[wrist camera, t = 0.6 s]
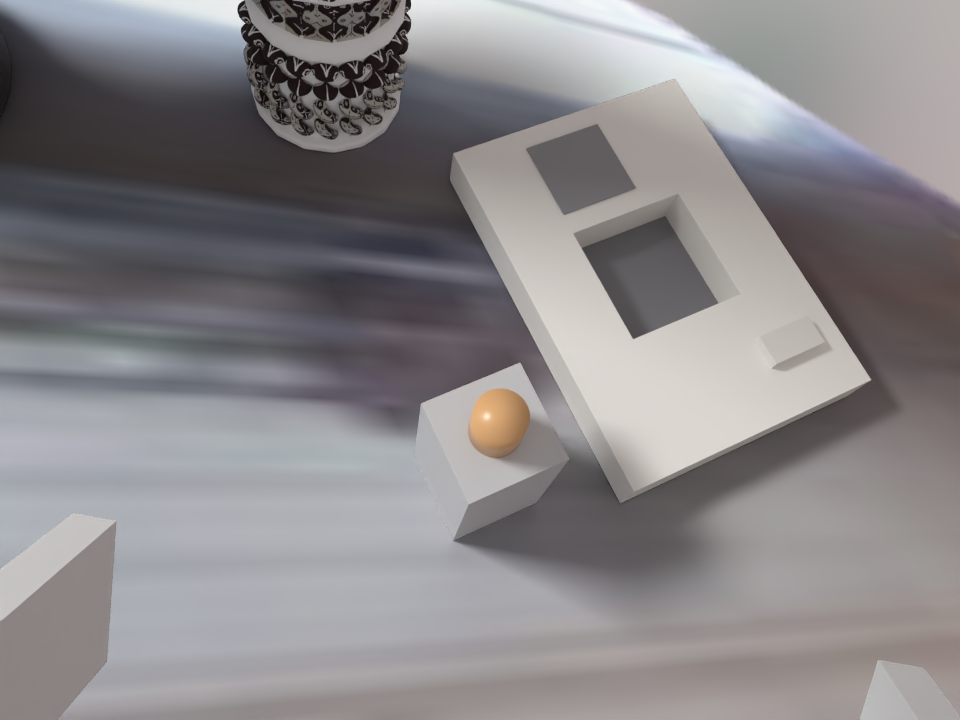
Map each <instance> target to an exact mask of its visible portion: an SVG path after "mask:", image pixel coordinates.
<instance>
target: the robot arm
mask: <svg viewBox="0 0 960 720" xmlns="http://www.w3.org/2000/svg"><path fill="white" fill-rule="evenodd" d="M10 85H11V60H10V55H9V51H8V48H7V45H6V42H5V40H4V37H3V36H2V34H1V32H0V115H1V113H2V111H3V109H4V107H5V104H6V101H7V98H8V95H9V90H10ZM115 534H116V521H114V520H108V519H103V518H97V517H92V516H86V515H81V514H75V513H72V514H71V515H70V516H69V517H67V518H66V519H65V520H63V521H62V522H61V523H59V524H58V525H57V526H56V527H54V528H53V529H52V530H50V531H49V532H48V533H46V534H45V535H44V536H43V537H41V538H40V539H39V540H37V541H36V542H35V543H33V544H32V545H31V546H30V547H28V548H27V549H26V550H24V551H23V552H22V553H20V554H19V555H18V556H17V557H15V558H14V559H13V560H11V561H10V562H9V563H7V564H6V565H5V566H4V567H2V568H1V569H0V720H57V719H58V718H59V717H60V716H61V715H62V714H63V712H64V711H65V710H66V709H67V708H68V707H69V705H70V704H71V703H72V702H73V701H74V700H75V698H76V697H77V696H78V695H79V694H80V693H81V691H82V690H83V689H84V688H85V687H86V685H87V684H88V683H89V682H90V681H91V680H92V678H93V677H94V676H95V675H96V674H97V673H98V671H99V670H100V669H101V668H102V667H103V666H104V664H105V663H106V662H107V653H108V638H109V623H110V608H111V594H112V579H113V564H114V549H115ZM860 720H960V715H959V714H958V713H957V711H956V710H955V709H954V707H953V706H952V705H951V703H950V702H949V701H948V700H947V698H946V697H945V696H944V694H943V693H942V692H941V690H940V689H939V688H938V686H937V685H936V684H935V682H934V681H933V680H932V678H931V677H930V676H929V674H928V673H927V672H926V670H925V669H924V668H921V667H915V666H910V665H904V664H899V663H893V662H888V661H882V660H878V663H877V666H876V669H875V672H874V675H873V679H872V682H871V685H870V688H869V692H868V695H867V698H866V701H865V705H864V708H863V711H862V714H861V717H860Z"/></svg>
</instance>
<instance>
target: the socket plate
mask: <svg viewBox="0 0 960 720" xmlns="http://www.w3.org/2000/svg"><path fill="white" fill-rule="evenodd" d="M450 181H451V183H452V185H453V187H454V189H455V191H456V193H457V195H458V197H459V198H460V200H461V202H462V204H463V206H464V208H465V210H466V212H467V214H468V216H469V217H470V219H471V221H472V223H473V225H474V227H475V229H476V231H477V233H478V234H479V236H480V238H481V240H482V242H483V244H484V246H485V248H486V250H487V252H488V253H489V255H490V257H491V259H492V261H493V263H494V265H495V267H496V269H497V271H498V272H499V274H500V276H501V278H502V280H503V282H504V284H505V286H506V288H507V290H508V291H509V293H510V295H511V297H512V299H513V301H514V303H515V305H516V307H517V308H518V310H519V312H520V314H521V316H522V318H523V320H524V322H525V324H526V326H527V327H528V329H529V331H530V333H531V335H532V337H533V339H534V341H535V343H536V345H537V346H538V348H539V350H540V352H541V354H542V356H543V358H544V360H545V362H546V364H547V365H548V367H549V369H550V371H551V373H552V375H553V377H554V379H555V381H556V382H557V384H558V386H559V388H560V390H561V392H562V394H563V396H564V398H565V400H566V401H567V403H568V405H569V407H570V409H571V411H572V413H573V415H574V417H575V419H576V420H577V422H578V424H579V426H580V428H581V430H582V432H583V434H584V436H585V438H586V439H587V441H588V443H589V445H590V447H591V449H592V451H593V453H594V455H595V456H596V458H597V460H598V462H599V464H600V466H601V468H602V470H603V472H604V474H605V475H606V477H607V479H608V481H609V483H610V485H611V487H612V489H613V491H614V493H615V494H616V496H617V498H618V500H619V502H620V503H622V502H624V501H627V500H629V499H631V498H633V497H635V496H637V495H639V494H641V493H644V492H646V491H648V490H650V489H652V488H654V487H656V486H658V485H660V484H663V483H665V482H667V481H669V480H671V479H673V478H675V477H677V476H679V475H682V474H684V473H686V472H688V471H690V470H692V469H694V468H696V467H698V466H701V465H703V464H705V463H707V462H709V461H711V460H713V459H715V458H718V457H720V456H722V455H724V454H726V453H728V452H730V451H732V450H734V449H737V448H739V447H741V446H743V445H745V444H747V443H749V442H751V441H753V440H756V439H758V438H760V437H762V436H764V435H766V434H768V433H770V432H772V431H775V430H777V429H779V428H781V427H783V426H785V425H787V424H789V423H791V422H794V421H796V420H798V419H800V418H802V417H804V416H806V415H808V414H811V413H813V412H815V411H817V410H819V409H821V408H823V407H825V406H827V405H830V404H832V403H834V402H836V401H838V400H840V399H842V398H844V397H846V396H848V395H850V394H851V393H853V392H854V391H855V390H857V389H858V388H860V387H861V386H863V385H864V384H866V383H867V382H869V381H870V380H871V379H870V377H869V376H868V374H867V373H866V371H865V369H864V368H863V366H862V365H861V363H860V362H859V360H858V359H857V357H856V356H855V354H854V353H853V351H852V350H851V348H850V346H849V345H848V343H847V342H846V340H845V339H844V337H843V336H842V334H841V333H840V331H839V330H838V328H837V327H836V325H835V323H834V322H833V320H832V319H831V317H830V316H829V314H828V313H827V311H826V310H825V308H824V307H823V305H822V303H821V302H820V300H819V299H818V297H817V296H816V294H815V293H814V291H813V290H812V288H811V287H810V285H809V284H808V282H807V280H806V279H805V277H804V276H803V274H802V273H801V271H800V270H799V268H798V267H797V265H796V264H795V262H794V261H793V259H792V257H791V256H790V254H789V253H788V251H787V250H786V248H785V247H784V245H783V244H782V242H781V241H780V239H779V238H778V236H777V234H776V233H775V231H774V230H773V228H772V227H771V225H770V224H769V222H768V221H767V219H766V218H765V216H764V215H763V213H762V211H761V210H760V208H759V207H758V205H757V204H756V202H755V201H754V199H753V198H752V196H751V195H750V193H749V192H748V190H747V188H746V187H745V185H744V184H743V182H742V181H741V179H740V178H739V176H738V175H737V173H736V172H735V170H734V169H733V167H732V165H731V164H730V162H729V161H728V159H727V158H726V156H725V155H724V153H723V152H722V150H721V149H720V147H719V146H718V144H717V142H716V141H715V139H714V138H713V136H712V135H711V133H710V132H709V130H708V129H707V127H706V126H705V124H704V123H703V121H702V119H701V118H700V116H699V115H698V113H697V112H696V110H695V109H694V107H693V106H692V104H691V103H690V101H689V100H688V98H687V96H686V95H685V93H684V92H683V90H682V89H681V87H680V86H679V84H678V83H677V81H676V80H675V79H672V80H669V81H666V82H663V83H660V84H657V85H654V86H651V87H648V88H645V89H642V90H640V91H637V92H634V93H631V94H628V95H625V96H622V97H619V98H616V99H613V100H610V101H607V102H604V103H601V104H598V105H595V106H592V107H589V108H586V109H583V110H580V111H577V112H574V113H571V114H568V115H565V116H562V117H559V118H557V119H554V120H551V121H548V122H545V123H542V124H539V125H536V126H533V127H530V128H527V129H524V130H521V131H518V132H515V133H512V134H509V135H506V136H503V137H500V138H497V139H494V140H491V141H488V142H485V143H482V144H479V145H476V146H473V147H471V148H468V149H465V150H462V151H459V152H456V153H453V158H452V166H451V174H450Z"/></svg>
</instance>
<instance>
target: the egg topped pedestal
mask: <svg viewBox="0 0 960 720" xmlns="http://www.w3.org/2000/svg"><path fill="white" fill-rule="evenodd" d="M414 457H415V459H416V462H417V464H418V466H419V468H420V470H421V473H422V475H423V477H424V479H425V481H426V484H427V486H428V488H429V490H430V492H431V494H432V497H433V499H434V501H435V503H436V505H437V508H438V510H439V512H440V514H441V516H442V519H443V521H444V523H445V525H446V527H447V529H448V532H449V534H450V536H451V538H452V540H453V541H454V540H456V539H458V538H461V537H463V536H465V535H467V534H469V533H471V532H474V531H476V530H478V529H480V528H482V527H484V526H487V525H489V524H491V523H493V522H495V521H498V520H500V519H502V518H504V517H506V516H508V515H511V514H513V513H515V512H517V511H519V510H521V509H524V508H526V507H528V506H530V505H532V504H534V503H537V501H538V500H539V499H540V497H541V496H542V495H543V493H544V492H545V491H546V490H547V488H548V487H549V486H550V484H551V483H552V482H553V480H554V479H555V478H556V476H557V475H558V474H559V472H560V471H561V470H562V468H563V467H564V466H565V464H566V463H567V462H568V461H569V459H570V458H569V456H568V454H567V453H566V451H565V449H564V447H563V445H562V443H561V441H560V439H559V437H558V435H557V433H556V431H555V429H554V427H553V425H552V424H551V422H550V420H549V418H548V416H547V414H546V412H545V410H544V408H543V406H542V404H541V402H540V400H539V398H538V396H537V394H536V393H535V391H534V389H533V387H532V385H531V383H530V381H529V379H528V377H527V375H526V373H525V371H524V369H523V367H522V365H521V363H518V364H516V365H513V366H511V367H509V368H506V369H504V370H501V371H499V372H496V373H494V374H492V375H489V376H487V377H484V378H482V379H479V380H477V381H475V382H472V383H470V384H467V385H465V386H462V387H460V388H458V389H455V390H453V391H450V392H448V393H445V394H443V395H441V396H438V397H436V398H433V399H431V400H428V401H426V402H424V403H421V408H420V416H419V424H418V431H417V439H416V447H415V454H414Z"/></svg>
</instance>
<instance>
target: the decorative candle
mask: <svg viewBox="0 0 960 720" xmlns="http://www.w3.org/2000/svg"><path fill="white" fill-rule="evenodd" d="M410 8H411V0H244V1H242V2H241V3H240V4H239V5H238V14H239V17H240V18H241V19H242V21H243V22H245V23H246V24H244V25H243V27H242V28H241V34H242V37H243V38H244V40H245V41H246V42H247V43H248V44H247V45H246V47H245V49H244V58H245V61H246V63H247V65H248V68H247V76H248V79H249V81H250V83H251V90H252V93H253V97H254V100H255V103H256V106H257V110H258V113H259V115H260V116H261V117H262V118H263V119H264V121H265V122H266V123H267V124H268V125H269V126H270V127H271V129H272V130H273V131H274V132H275V133H276V134H277V135H278V136H280V137H282V138H284V139H286V140H288V141H290V142H291V143H293V144H295V145H297V146H299V147H301V148H303V149H308V150H316V151H323V152H330V153H336V152H341V151H346V150H350V149H355V148H360V147H363V146H365V145H366V144H368V143H369V142H371V141H372V140H374V139H375V138H377V137H378V136H380V135H381V134H383V133H384V132H385V131H386V130H387V128H388V127H389V125H390V124H391V122H392V120H393V119H394V117H395V116H396V114H397V113H398V111H399V103H400V93H401V90H402V89H403V87H404V81H403V80H402V79H401V78H399V75H398V73H399V74H402V73H404V72H405V71H406V68H407V67H406V63H405V61H404V60H402V59H401V58H400V56H399V55H402V54H404V53H405V52H406V51H407V49H408V39H407V37H406V36H405V35H406V34H407V33H408V32H409V30H410V28H411V19H410V17H409V15H408V14H407V13H406V12H408V11H409V10H410Z"/></svg>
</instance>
